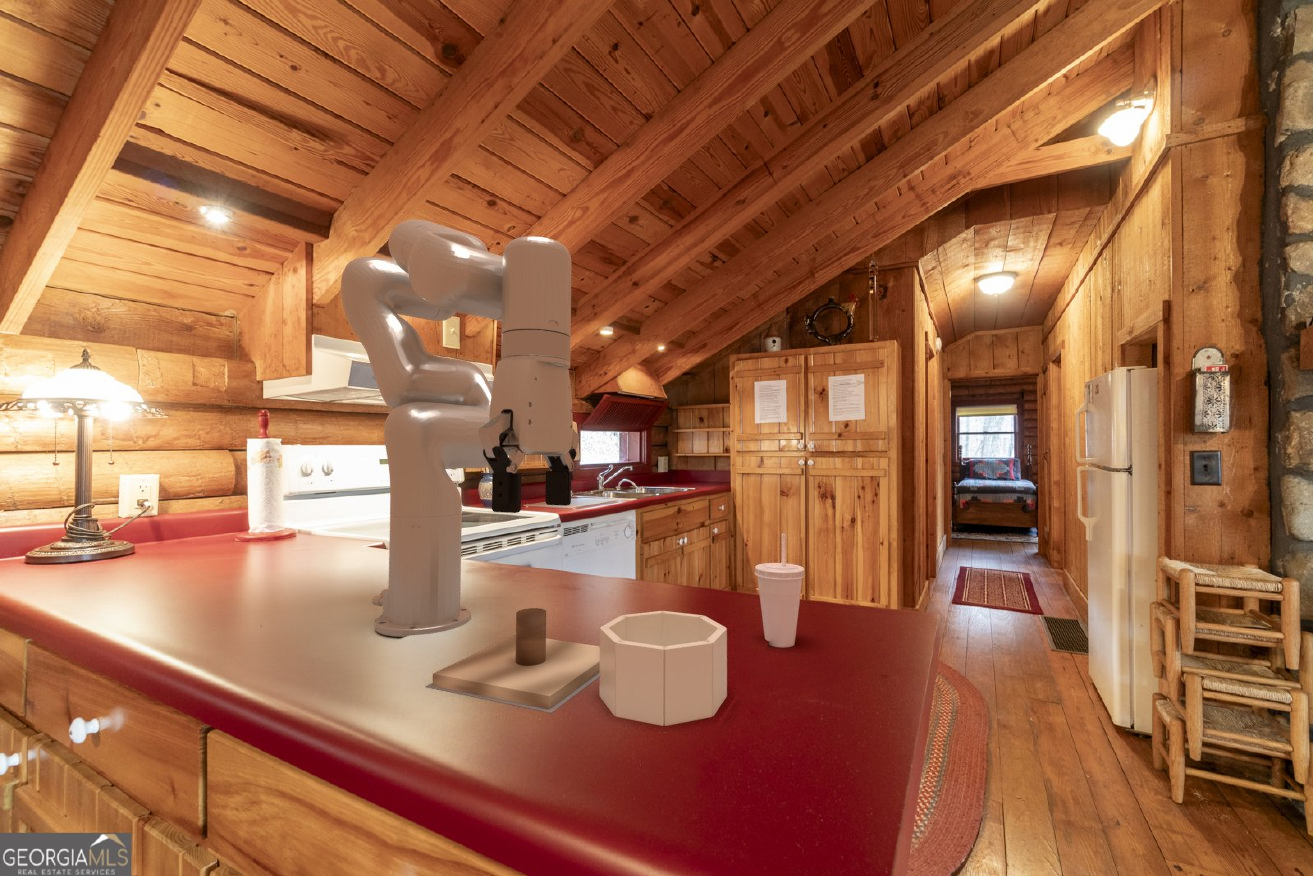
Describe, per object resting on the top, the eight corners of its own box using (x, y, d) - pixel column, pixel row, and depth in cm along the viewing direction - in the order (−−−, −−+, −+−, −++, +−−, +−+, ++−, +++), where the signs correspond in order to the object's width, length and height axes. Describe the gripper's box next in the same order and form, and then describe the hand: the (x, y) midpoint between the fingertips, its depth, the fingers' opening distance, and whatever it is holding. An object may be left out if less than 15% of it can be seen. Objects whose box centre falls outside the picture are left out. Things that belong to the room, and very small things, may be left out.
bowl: (581, 714, 52) (582, 638, 52) (634, 671, 62) (634, 607, 63) (701, 739, 47) (701, 655, 47) (735, 687, 58) (735, 619, 58)
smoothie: (807, 652, 68) (806, 537, 69) (753, 649, 70) (753, 536, 70) (803, 636, 75) (803, 531, 75) (755, 633, 76) (754, 530, 76)
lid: (432, 685, 57) (433, 621, 57) (516, 643, 70) (517, 592, 70) (549, 709, 51) (550, 639, 52) (617, 659, 64) (617, 603, 65)
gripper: (550, 367, 71) (548, 501, 71) (454, 340, 55) (450, 514, 55) (602, 364, 69) (601, 504, 68) (517, 335, 53) (514, 517, 52)
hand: (534, 508), depth 61 cm, fingers open, 9 cm apart
